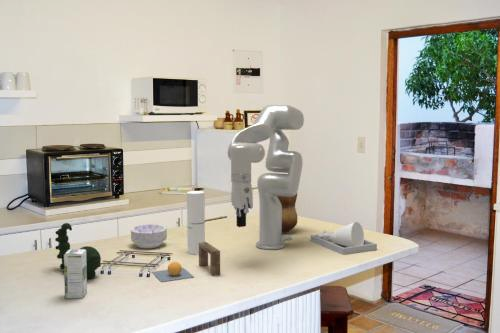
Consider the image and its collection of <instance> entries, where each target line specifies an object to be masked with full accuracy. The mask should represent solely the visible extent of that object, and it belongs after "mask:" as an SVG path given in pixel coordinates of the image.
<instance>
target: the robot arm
mask: <svg viewBox="0 0 500 333" xmlns="http://www.w3.org/2000/svg"><path fill="white" fill-rule="evenodd" d="M253 122H254V123H253V124H252V125H250V126H247V127H246V128H244V129H241V130H240V131H239V132H237V133H236V134H235V135H234V137H233V138H232V140H231V142H230V143H229V145H228V147H227V157H228V159H229V160H230V182H231V191H230V192H231V195H230V197H231V198H230V200H231V202H230V203H231V206H233V208H234V210H235V215H236V227H238V228H244V227H246V226H247V215H248V213H249V212H250V210H251V209H253V207H254V200H253V199H254V197H253V195H254V194H253V187H252V164H253V163H254V164H256V163H257V164H258V163H261V162H262V161H263V160H264V158H265V156H266V158H265V168H266V170H267V171H269V172H266V173H265V172H264V173H262V174H260V175H259V177H257V181H256V183H257V191H258V192H257V193H258V199H259V240H258V241H257V242H256V243H255V246H256V248H259V249H262V250H281V249H284V248H285V246H286V243H285V242H286V241H292V238H293V237H292V236H291V235H287V236H286V234H285V235H283V232H282V205H281V202H280V201H279V199H278V197H277V196H285V197H293V196H295V195H296V193H297V194H298V190H299V187H300V180H301V175H302V171H303V156H302V154H301V153H300V152H298V151H297V150H296V151H295V150H289V147H290V146H289V145H290V141H289V139H288V137H287V136H286V134H285V133H284V132H283V130H285V131H287V130H290V131H292V130H293V131H296V130H300V129H302V128H303V126H304V123H305V117H304V114H303V112H302V111H301V110H300V109H298V108H296V107H294V106H291V105H288V104H287V105H286V104H270V105H266V106H264V107H263V108H262V109H261V110H260V112H259V113H258V115H257V117H256V119H255V121H253ZM268 139H269V144H268V150H267V154H266V151H265V147H264V146H263V145H262V144H260V142H264V141H267V140H268ZM249 209H250V210H249Z"/></svg>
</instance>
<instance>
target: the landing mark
mask: <svg viewBox="0 0 500 333" xmlns="http://www.w3.org/2000/svg"><path fill="white" fill-rule="evenodd" d="M151 274H153V275H154V277H155V278H157V280H158V281H160V283H166V282H172V281H179V280H186V279H192V278H193V279H194V278H195V276H194V275H193V274H192V273H190V272H189V271H188V269H186V268H184V267H182V270H181V273H180V274H179V275H177V276H172V275H170V274H169V272H168V269H164V270H156V271H151Z"/></svg>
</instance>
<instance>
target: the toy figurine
mask: <svg viewBox="0 0 500 333" xmlns="http://www.w3.org/2000/svg"><path fill="white" fill-rule="evenodd" d="M72 227H73V226H72V225H71V223H69V222H65V223H63V224H62V225H61V227H60V228H59V229H58V230H56V231H55V234H56V235H57V237H56V238H55V239H54V240H55V242H57V243H58V245H55V250H59V252H58V254H57V255H56V258H57V259H59V260H60V259H61V263H60V265H59V268H60V269H61V270H64V254H65V253H66V252H67V251H68V250H70V249H71V243H70V242H69V236H68V231H67V230H69V231H72V230H73V228H72ZM79 249H84V250H86V263H87V280H89V279H93V278H94V277H96V274H97V272H96V270H98V269H99V268H100V267H101V266H102V265H101V261H102V257H101V254H100V252H99V251H98V250H97V249H96V248H95V247H93V246H82V247H79Z"/></svg>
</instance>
